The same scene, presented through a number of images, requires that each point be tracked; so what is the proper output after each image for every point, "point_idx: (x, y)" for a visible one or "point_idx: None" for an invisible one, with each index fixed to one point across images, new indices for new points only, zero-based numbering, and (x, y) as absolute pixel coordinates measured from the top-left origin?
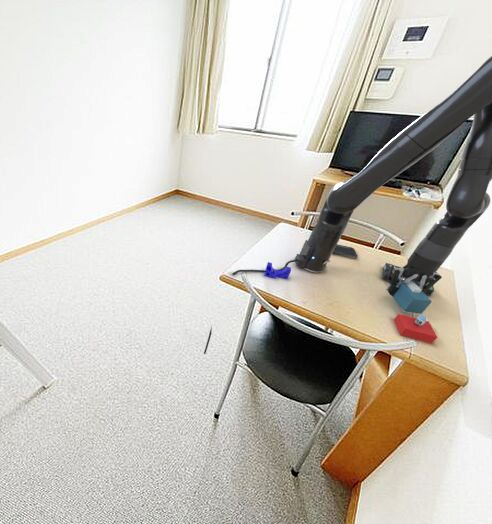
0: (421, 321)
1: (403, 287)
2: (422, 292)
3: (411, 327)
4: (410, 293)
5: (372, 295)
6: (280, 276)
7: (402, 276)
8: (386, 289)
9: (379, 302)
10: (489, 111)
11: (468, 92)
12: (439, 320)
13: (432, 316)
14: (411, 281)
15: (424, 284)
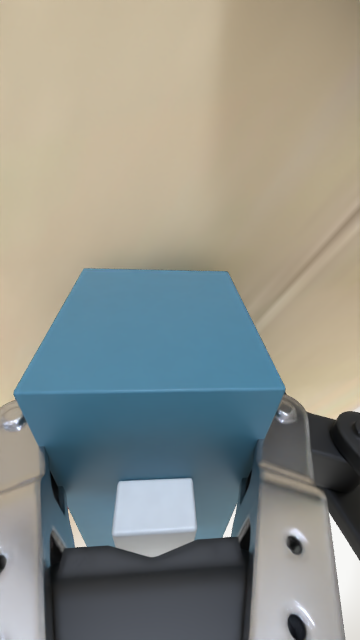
0: None
1: (71, 502)
2: (218, 519)
3: None
4: (94, 543)
5: (11, 266)
6: None
7: (26, 552)
8: (82, 272)
9: (46, 329)
10: None
11: None
12: (308, 388)
13: (298, 372)
14: (243, 425)
15: (348, 477)
